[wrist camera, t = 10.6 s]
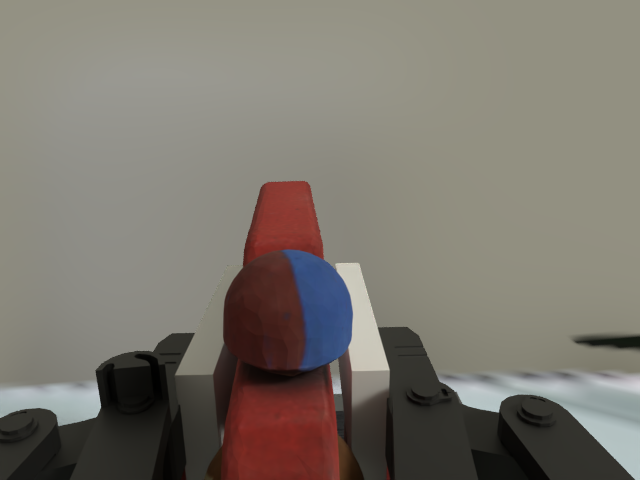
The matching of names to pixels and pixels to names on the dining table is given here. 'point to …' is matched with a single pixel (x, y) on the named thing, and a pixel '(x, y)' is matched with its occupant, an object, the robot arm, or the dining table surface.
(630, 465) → the dining table surface
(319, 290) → the red plastic toy vehicle
